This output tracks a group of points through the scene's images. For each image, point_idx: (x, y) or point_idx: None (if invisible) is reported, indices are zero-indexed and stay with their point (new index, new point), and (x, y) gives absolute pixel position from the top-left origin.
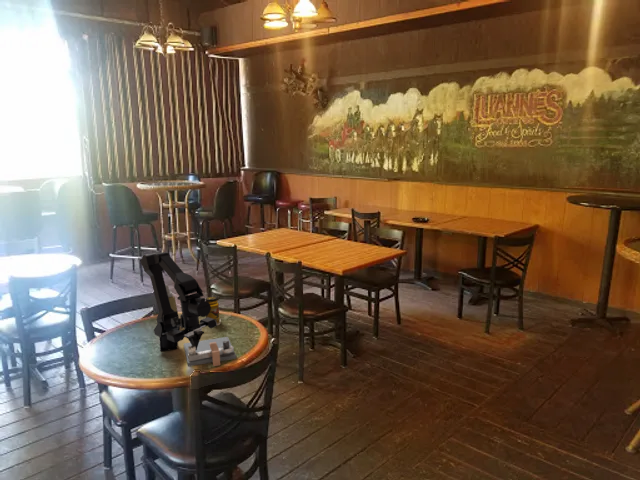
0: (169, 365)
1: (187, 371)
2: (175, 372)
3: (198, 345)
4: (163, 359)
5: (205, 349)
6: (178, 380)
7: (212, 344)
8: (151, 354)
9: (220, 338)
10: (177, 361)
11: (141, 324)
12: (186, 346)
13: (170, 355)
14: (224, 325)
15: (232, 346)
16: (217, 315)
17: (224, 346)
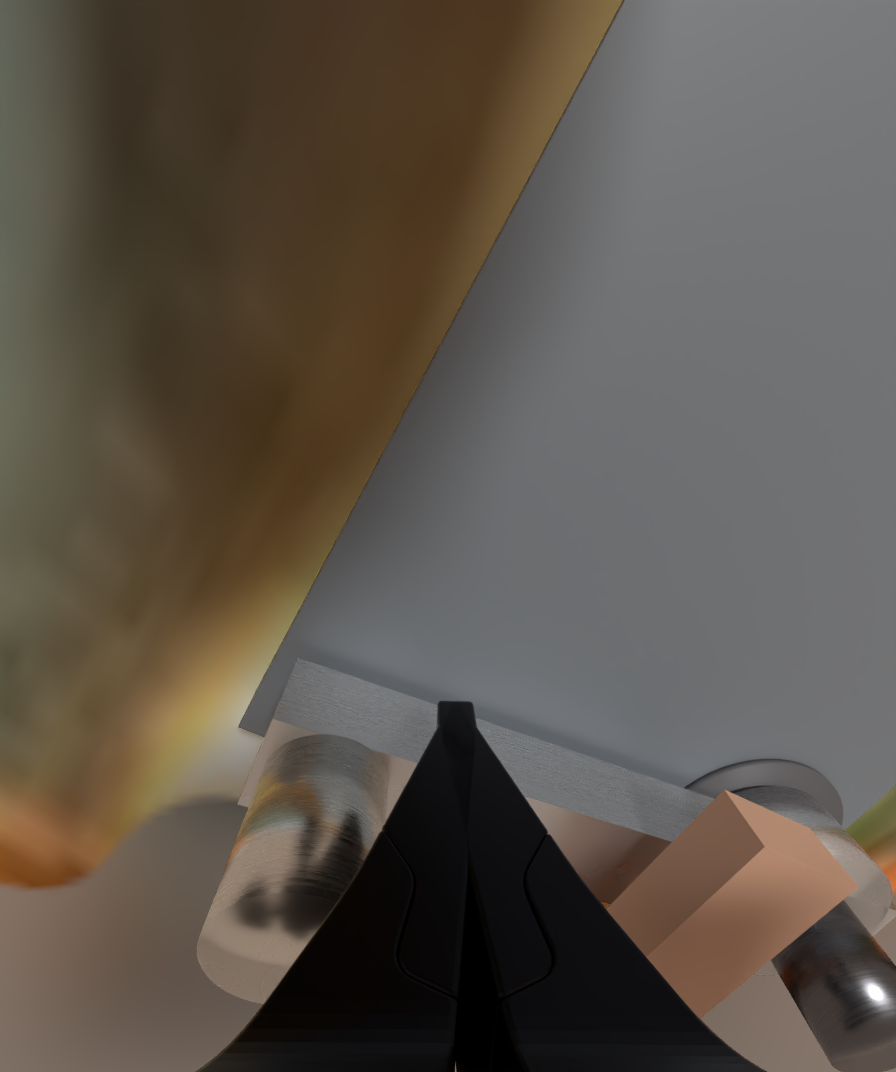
0: (44, 476)
1: (184, 788)
2: (46, 718)
3: (817, 261)
4: (26, 127)
5: (725, 531)
6: (9, 877)
7: (724, 928)
8: None
9: None
10: (213, 448)
11: None
12: (660, 46)
13: (228, 60)
14: None
15: (873, 935)
16: None
17: (784, 979)
